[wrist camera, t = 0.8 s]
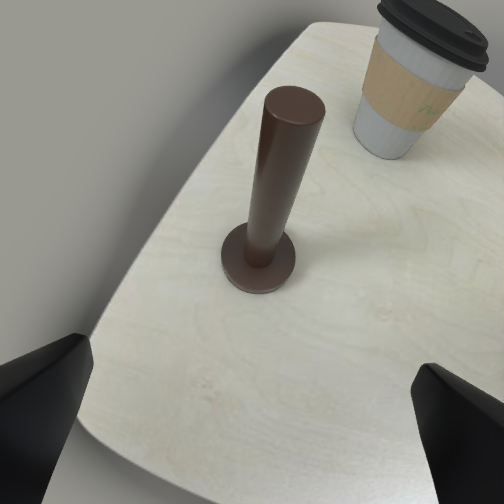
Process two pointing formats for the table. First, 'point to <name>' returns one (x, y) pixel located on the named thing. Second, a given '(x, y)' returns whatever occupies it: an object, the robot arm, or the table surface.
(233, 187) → the table surface
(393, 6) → the coffee cup
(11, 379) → the robot arm
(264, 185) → the dark brown rod
